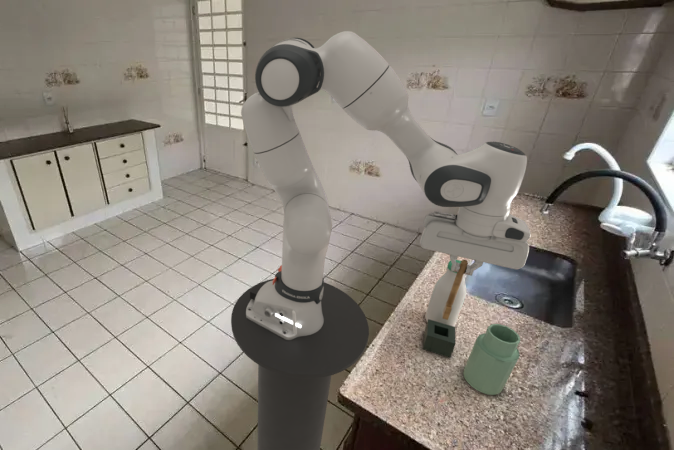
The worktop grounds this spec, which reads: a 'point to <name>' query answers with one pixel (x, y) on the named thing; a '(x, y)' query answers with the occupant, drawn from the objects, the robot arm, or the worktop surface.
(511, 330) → the green jar
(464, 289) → the milk bottle
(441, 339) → the spoon holder
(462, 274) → the wooden stick
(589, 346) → the worktop surface
